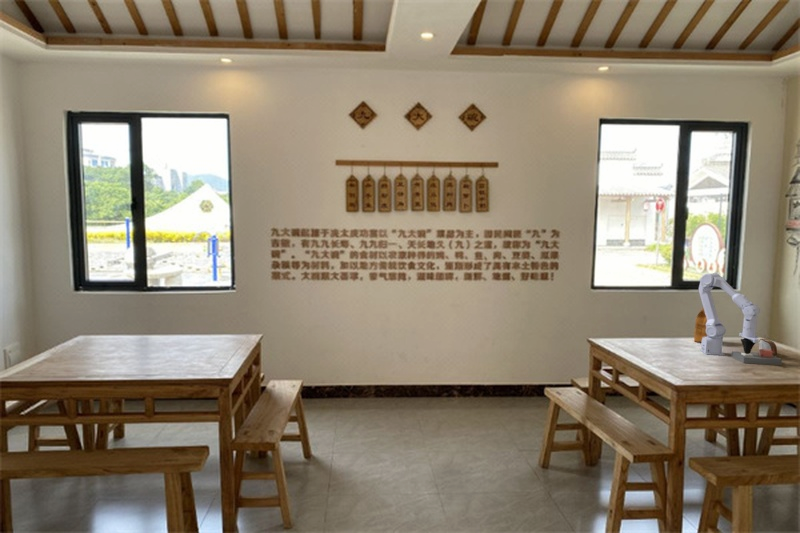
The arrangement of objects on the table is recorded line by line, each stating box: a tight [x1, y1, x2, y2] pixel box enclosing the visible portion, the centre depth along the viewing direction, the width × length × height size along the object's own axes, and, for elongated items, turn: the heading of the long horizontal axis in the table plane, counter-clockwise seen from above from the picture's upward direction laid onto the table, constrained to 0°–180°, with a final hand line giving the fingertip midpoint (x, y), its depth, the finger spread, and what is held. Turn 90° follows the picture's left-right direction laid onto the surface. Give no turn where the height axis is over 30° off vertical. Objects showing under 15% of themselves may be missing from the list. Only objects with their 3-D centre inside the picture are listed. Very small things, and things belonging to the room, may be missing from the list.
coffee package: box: [693, 307, 708, 343], centre depth 304 cm, size 10×12×22 cm
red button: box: [758, 349, 773, 357], centre depth 265 cm, size 4×4×4 cm
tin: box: [758, 338, 778, 357], centre depth 278 cm, size 15×3×8 cm, turn 168°
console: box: [731, 351, 783, 366], centre depth 266 cm, size 18×12×3 cm, turn 83°
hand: (747, 353), depth 266 cm, fingers closed
